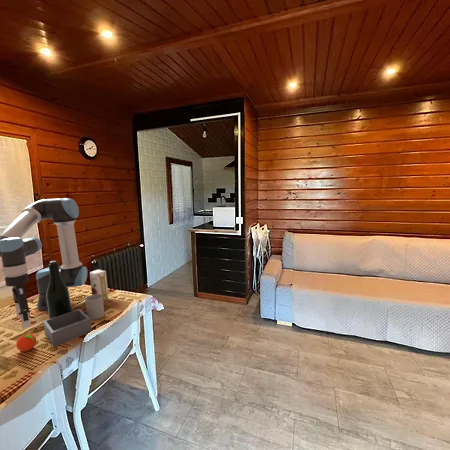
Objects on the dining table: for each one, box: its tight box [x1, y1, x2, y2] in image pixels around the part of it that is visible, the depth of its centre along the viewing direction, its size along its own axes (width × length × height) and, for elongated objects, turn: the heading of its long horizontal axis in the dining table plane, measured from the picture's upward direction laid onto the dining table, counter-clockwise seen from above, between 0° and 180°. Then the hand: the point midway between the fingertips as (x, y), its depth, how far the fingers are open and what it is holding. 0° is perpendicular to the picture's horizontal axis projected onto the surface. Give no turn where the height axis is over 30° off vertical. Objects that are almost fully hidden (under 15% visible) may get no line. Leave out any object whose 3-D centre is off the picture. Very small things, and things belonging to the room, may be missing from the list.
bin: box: [42, 308, 93, 347], centre depth 122 cm, size 16×16×6 cm
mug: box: [84, 294, 105, 321], centre depth 139 cm, size 12×8×11 cm
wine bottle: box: [46, 260, 73, 319], centre depth 132 cm, size 10×10×33 cm
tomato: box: [15, 333, 37, 352], centre depth 109 cm, size 8×7×7 cm
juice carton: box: [89, 269, 109, 303], centre depth 157 cm, size 8×9×19 cm
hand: (23, 322), depth 108 cm, fingers open, 13 cm apart
